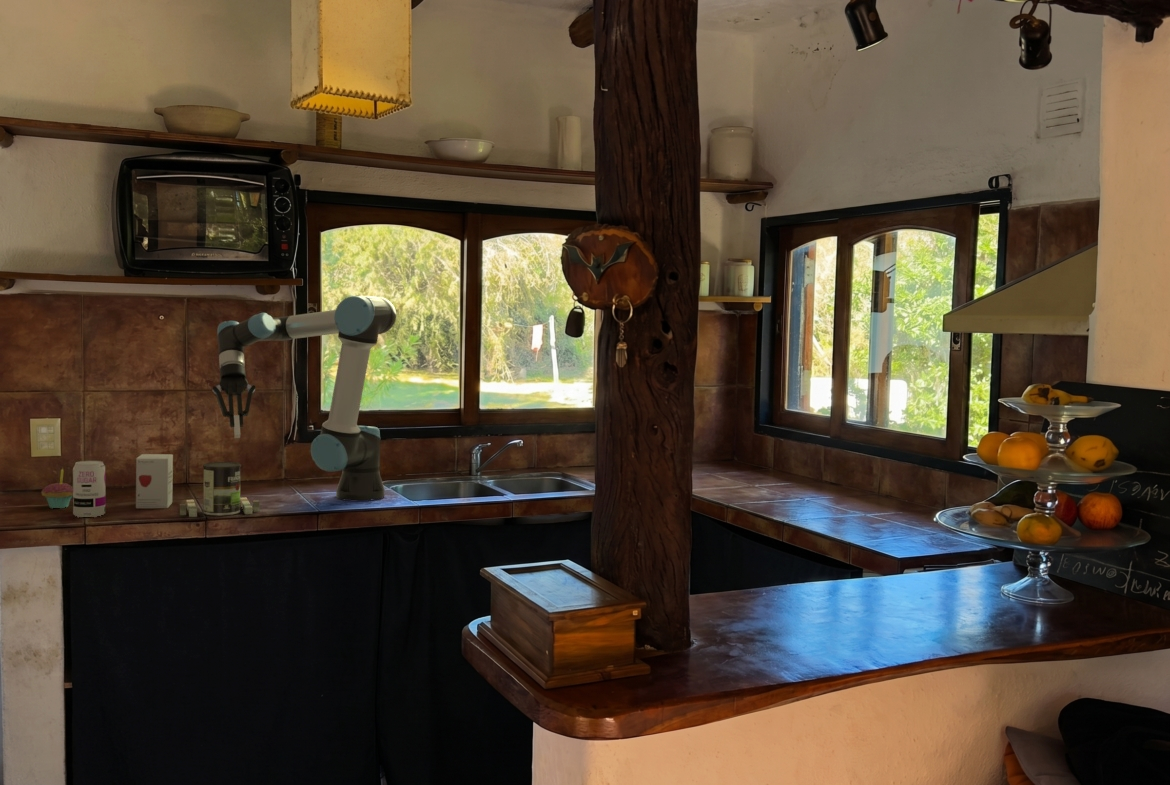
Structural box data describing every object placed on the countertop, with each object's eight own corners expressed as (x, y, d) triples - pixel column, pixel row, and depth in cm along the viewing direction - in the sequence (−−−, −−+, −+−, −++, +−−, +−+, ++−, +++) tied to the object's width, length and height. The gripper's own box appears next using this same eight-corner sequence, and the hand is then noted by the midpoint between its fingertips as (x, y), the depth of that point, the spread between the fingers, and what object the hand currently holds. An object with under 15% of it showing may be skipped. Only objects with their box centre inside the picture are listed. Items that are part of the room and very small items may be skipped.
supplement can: (99, 511, 293) (99, 459, 292) (109, 516, 287) (109, 463, 286) (69, 514, 287) (68, 461, 286) (78, 519, 281) (78, 465, 280)
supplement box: (134, 509, 298) (134, 458, 297) (141, 503, 307) (140, 453, 306) (168, 508, 300) (168, 458, 299) (173, 502, 309) (173, 453, 308)
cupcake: (81, 506, 299) (81, 465, 298) (55, 511, 292) (55, 469, 291) (60, 503, 303) (60, 463, 302) (34, 507, 295) (34, 466, 294)
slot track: (178, 506, 303) (178, 496, 303) (254, 503, 312) (254, 493, 311) (180, 517, 288) (180, 507, 288) (260, 513, 297) (260, 503, 297)
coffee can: (247, 510, 301) (247, 462, 300) (228, 517, 291) (228, 467, 290) (215, 507, 303) (215, 460, 302) (195, 514, 293) (195, 465, 292)
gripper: (253, 373, 326) (258, 440, 317) (209, 373, 321) (214, 442, 311) (255, 361, 320) (261, 430, 310) (210, 362, 315) (215, 431, 305)
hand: (237, 436), depth 311 cm, fingers closed
